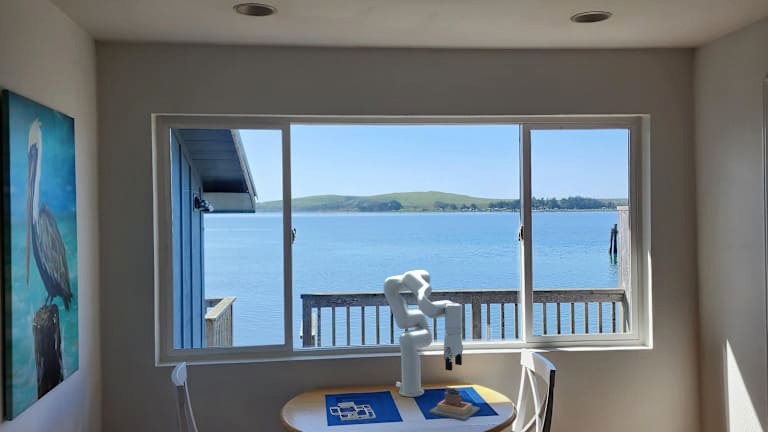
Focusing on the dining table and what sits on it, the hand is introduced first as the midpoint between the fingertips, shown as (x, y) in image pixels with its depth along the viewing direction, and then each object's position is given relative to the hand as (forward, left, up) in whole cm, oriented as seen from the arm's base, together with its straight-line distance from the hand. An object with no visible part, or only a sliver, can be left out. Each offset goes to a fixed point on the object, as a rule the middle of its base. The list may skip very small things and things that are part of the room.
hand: (453, 367), depth 269 cm
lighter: (0, -1, -20) cm, 20 cm away
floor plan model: (-42, -27, -21) cm, 54 cm away
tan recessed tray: (0, 0, -20) cm, 20 cm away
